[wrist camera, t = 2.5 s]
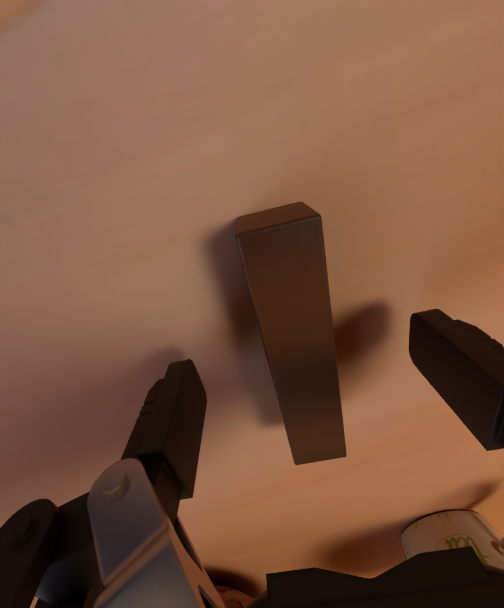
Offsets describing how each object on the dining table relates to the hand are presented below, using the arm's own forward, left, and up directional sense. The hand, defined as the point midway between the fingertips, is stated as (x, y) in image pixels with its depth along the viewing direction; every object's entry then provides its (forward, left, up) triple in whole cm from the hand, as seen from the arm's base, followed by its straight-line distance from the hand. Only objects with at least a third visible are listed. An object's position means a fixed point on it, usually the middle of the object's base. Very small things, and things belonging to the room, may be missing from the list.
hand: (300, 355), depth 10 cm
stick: (0, 0, -1) cm, 1 cm away
